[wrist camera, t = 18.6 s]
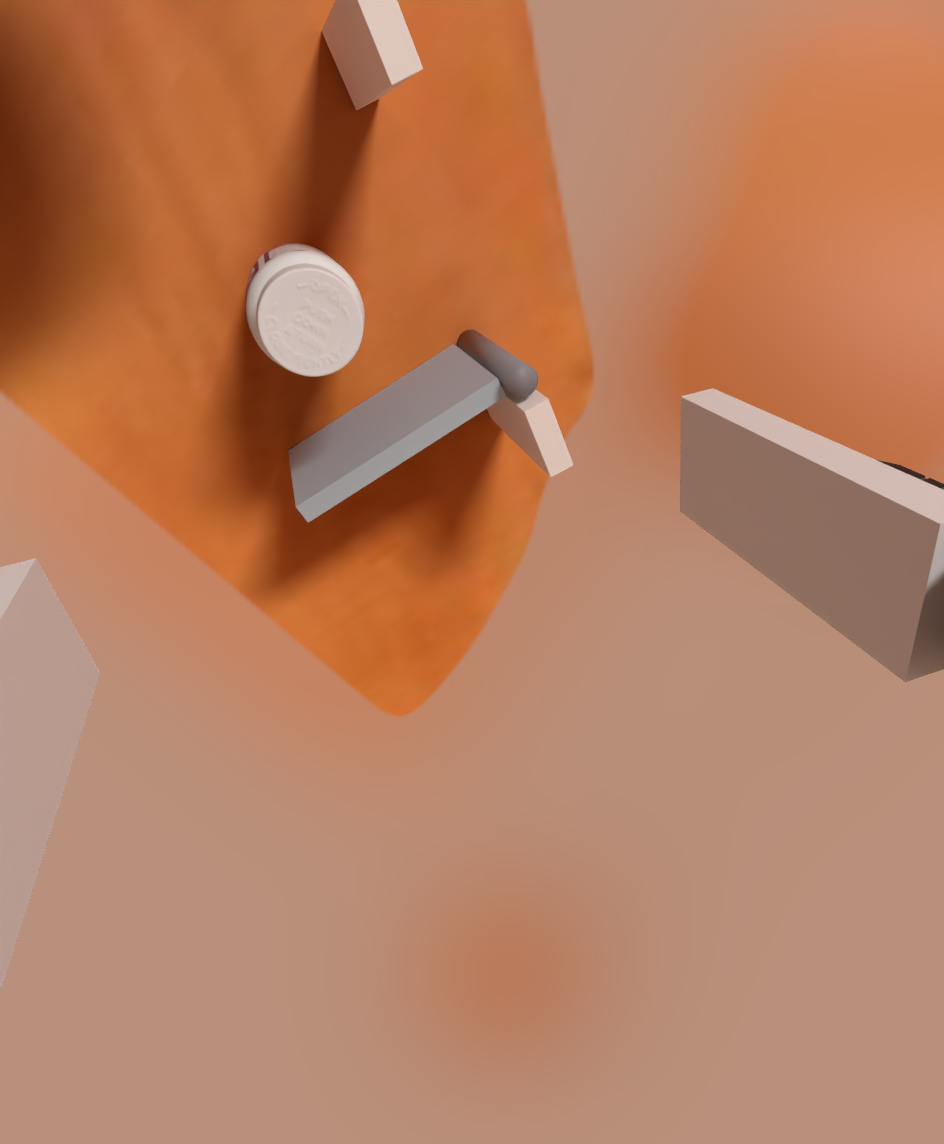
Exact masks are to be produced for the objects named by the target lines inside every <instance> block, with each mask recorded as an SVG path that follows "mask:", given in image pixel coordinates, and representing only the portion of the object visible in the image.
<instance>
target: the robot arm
mask: <svg viewBox="0 0 944 1144" xmlns="http://www.w3.org/2000/svg"><path fill="white" fill-rule="evenodd" d="M680 476H681V480H680V485H681V486H680V487H681V488H680V489H681V490H680V503H681V504H680V505H681V506H680V511H681V512H682V513H683V514H685V515H686V516H687V517H689V518H690V519H691V520H693V521H694V522H695V523H696V524H698V525H699V526H700V527H702V528H703V529H704V530H706V531H707V532H708V533H710V534H711V535H712V536H714V537H715V538H716V539H718V540H719V541H720V542H721V543H723V544H724V545H726V546H727V547H728V548H729V549H731V550H732V551H733V552H735V553H736V554H737V555H739V556H740V557H741V558H743V559H744V560H745V561H747V562H748V563H749V564H750V565H752V566H753V567H754V568H756V569H757V570H758V571H760V572H761V573H763V574H764V575H765V576H766V577H768V578H769V579H770V580H772V581H773V582H774V583H776V584H777V585H778V586H779V587H781V588H782V589H784V590H785V591H786V592H787V593H789V594H790V595H791V596H793V597H794V598H795V599H797V600H798V601H799V602H801V603H802V604H803V605H804V606H806V607H807V608H808V609H810V610H811V611H812V612H814V613H815V614H816V615H818V616H819V617H820V618H822V619H823V620H824V621H826V622H827V623H828V624H829V625H831V626H832V627H833V628H835V629H836V630H837V631H839V632H840V633H841V634H843V635H844V636H846V637H847V638H848V639H849V640H851V641H852V642H853V643H855V644H856V645H857V646H858V647H860V648H861V649H863V650H864V651H865V652H866V653H868V654H869V655H871V656H872V657H873V658H874V659H876V660H877V661H878V662H880V663H881V664H882V665H883V666H885V667H886V668H888V669H889V670H890V671H891V672H893V673H894V674H895V675H897V676H898V677H899V678H901V679H902V680H903V681H905V682H907V681H910V680H913V679H916V678H919V677H921V676H924V675H927V674H930V673H933V672H936V671H939V670H942V669H944V484H942V483H940V482H938V481H935V480H933V479H931V478H929V479H926V478H925V476H924V475H922V474H919V473H917V472H914V471H912V470H910V469H907V468H905V467H903V466H901V465H897V464H892V463H887V462H883V461H879V460H875V459H872V458H870V457H868V456H865V455H863V454H861V453H859V452H856V451H854V450H852V449H850V448H847V447H845V446H843V445H841V444H838V443H836V442H834V441H831V440H829V439H827V438H825V437H822V436H820V435H818V434H815V433H813V432H811V431H809V430H806V429H804V428H802V427H800V426H797V425H795V424H792V423H790V422H788V421H786V420H784V419H781V418H779V417H777V416H774V415H772V414H770V413H768V412H765V411H763V410H761V409H759V408H756V407H754V406H752V405H749V404H747V403H745V402H743V401H740V400H738V399H736V398H733V397H731V396H729V395H726V394H724V393H722V392H720V391H718V390H715V389H709V390H705V391H701V392H698V393H693V394H689V395H685V396H682V397H681V475H680ZM99 675H100V672H99V670H98V668H97V666H96V665H95V663H94V661H93V659H92V658H91V656H90V654H89V652H88V650H87V649H86V647H85V645H84V643H83V641H82V640H81V638H80V636H79V634H78V632H77V631H76V629H75V627H74V625H73V623H72V622H71V620H70V618H69V616H68V615H67V613H66V611H65V609H64V607H63V606H62V604H61V602H60V600H59V599H58V597H57V595H56V593H55V591H54V590H53V588H52V586H51V584H50V582H49V581H48V579H47V577H46V575H45V573H44V572H43V570H42V568H41V566H40V564H39V563H38V561H37V559H36V558H35V559H31V560H28V561H23V562H20V563H15V564H11V565H8V566H3V567H0V989H1V988H2V986H3V983H4V980H5V976H6V974H7V970H8V967H9V964H10V961H11V958H12V954H13V951H14V948H15V945H16V941H17V938H18V935H19V932H20V929H21V925H22V922H23V919H24V916H25V913H26V909H27V906H28V903H29V900H30V897H31V893H32V890H33V887H34V884H35V880H36V877H37V874H38V871H39V867H40V865H41V861H42V858H43V855H44V852H45V849H46V845H47V842H48V839H49V836H50V833H51V829H52V826H53V823H54V820H55V816H56V813H57V810H58V807H59V804H60V800H61V797H62V794H63V791H64V788H65V784H66V781H67V778H68V775H69V772H70V768H71V765H72V762H73V759H74V756H75V752H76V749H77V745H78V743H79V740H80V736H81V733H82V730H83V726H84V723H85V720H86V717H87V714H88V711H89V707H90V704H91V701H92V698H93V695H94V691H95V688H96V685H97V682H98V678H99Z"/></svg>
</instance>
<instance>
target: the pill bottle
mask: <svg viewBox="0 0 944 1144" xmlns="http://www.w3.org/2000/svg"><path fill="white" fill-rule="evenodd" d="M246 316H247V321H248V325H249V328H250V331H251V333H252V335H253V337H254V339H255V341H256V342H257V344H258V345H259V347H260V348H261V349H262V351H263V352H264V353H265V354H266V355H267V356H268V357H269V358H270V359H272V360H273V361H274V362H276V363H277V364H279V365H280V366H282V367H284V368H285V369H287V370H289V371H291V372H293V373H296V374H299V375H302V376H308V377H319V376H325V375H329V374H332V373H334V372H336V371H338V370H340V369H342V368H343V367H344V366H346V365H347V364H348V363H349V362H350V361H351V360H352V358H353V357H354V356H355V354H356V353H357V351H358V349H359V346H360V344H361V341H362V336H363V329H364V320H365V315H364V306H363V302H362V298H361V295H360V292H359V290H358V288H357V286H356V284H355V282H354V281H353V279H352V277H351V276H350V275H349V274H348V273H347V272H346V270H345V269H344V268H343V267H341V266H340V265H339V264H338V263H336V262H335V261H334V260H333V259H332V258H331V257H330V256H328V255H327V254H326V253H324V252H323V251H321V250H319V249H317V248H315V247H313V246H311V245H308V244H303V243H284V244H280V245H277V246H275V247H273V248H271V249H269V250H267V251H266V252H265V253H264V254H263V255H262V256H261V257H260V258H259V259H258V260H257V261H256V263H255V264H254V266H253V268H252V270H251V272H250V275H249V278H248V283H247V294H246Z"/></svg>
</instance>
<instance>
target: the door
mask: <svg viewBox="0 0 944 1144" xmlns="http://www.w3.org/2000/svg"><path fill="white" fill-rule="evenodd" d="M457 346H458V347H457ZM457 346H456V345H455V344H452V345H451V346H449V347H448V348H446V349H445V350H443V351H442V352H440V353H438V354H437V355H435V356H434V357H432V358H431V359H429V360H428V361H426V362H424V363H423V364H421V365H420V366H418V367H417V368H415V369H414V370H412V371H410V372H409V373H407V374H406V375H404V376H403V377H401V378H400V379H398V380H397V381H395V382H393V383H392V384H390V385H389V386H387V387H386V388H384V389H383V390H381V391H379V392H378V393H376V394H375V395H373V396H372V397H370V398H369V399H367V400H365V401H364V402H362V403H361V404H359V405H358V406H356V407H355V408H353V409H352V410H350V411H348V412H347V413H345V414H344V415H342V416H341V417H339V418H338V419H336V420H334V421H333V422H331V423H330V424H328V425H327V426H325V427H324V428H322V429H320V430H319V431H317V432H316V433H314V434H313V435H311V436H310V437H308V438H307V439H305V440H303V441H302V442H300V443H299V444H297V445H296V446H294V447H293V448H291V449H289V450H288V454H289V462H290V469H291V476H292V484H293V491H294V498H295V506H296V508H297V509H298V511H299V512H300V513H301V514H302V516H303V517H304V518H305V519H306V521H307V522H308V523H309V522H310V521H312V520H313V519H315V518H316V517H318V516H320V515H321V514H323V513H324V512H326V511H327V510H329V509H331V508H332V507H334V506H335V505H337V504H338V503H340V502H341V501H343V500H345V499H346V498H348V497H349V496H351V495H352V494H354V493H356V492H357V491H359V490H360V489H362V488H363V487H365V486H366V485H368V484H370V483H371V482H373V481H374V480H376V479H377V478H379V477H381V476H382V475H384V474H385V473H387V472H388V471H390V470H391V469H393V468H395V467H396V466H398V465H399V464H401V463H402V462H404V461H406V460H407V459H409V458H410V457H412V456H413V455H415V454H416V453H418V452H420V451H421V450H423V449H424V448H426V447H427V446H429V445H431V444H432V443H434V442H435V441H437V440H438V439H440V438H441V437H443V436H445V435H446V434H448V433H449V432H451V431H452V430H454V429H455V428H457V427H459V426H460V425H462V424H463V423H465V422H466V421H468V420H470V419H471V418H473V417H474V416H476V415H477V414H479V413H480V412H482V411H484V410H485V409H487V408H488V407H490V406H491V405H493V404H495V403H496V402H498V401H499V400H501V399H502V398H504V397H505V396H506V394H505V392H504V390H503V388H505V389H506V390H507V391H508V392H510V393H511V394H512V395H514V396H515V397H518V398H524V397H527V396H529V395H530V394H532V393H533V392H534V390H535V389H536V387H537V384H538V376H537V373H536V371H535V370H534V369H533V368H532V367H531V366H529V365H528V364H526V363H525V362H523V361H521V360H520V359H518V358H517V357H515V356H514V355H512V354H511V353H509V352H508V351H506V350H504V349H503V348H501V347H500V346H498V345H497V344H495V343H494V342H492V341H491V340H489V339H487V338H486V337H484V336H483V335H481V334H480V333H478V332H477V331H475V330H467V331H464V332H463V333H462V334H461V335H460V336H459V338H458V342H457ZM502 387H503V388H502Z"/></svg>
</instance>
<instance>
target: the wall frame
mask: <svg viewBox="0 0 944 1144" xmlns="http://www.w3.org/2000/svg"><path fill="white" fill-rule="evenodd" d="M322 34H323V36H324V38H325V40H326V43H327V45H328V47H329V50H330V52H331V54H332V56H333V59H334V61H335V63H336V66H337V68H338V70H339V72H340V75H341V77H342V79H343V82H344V84H345V86H346V88H347V91H348V93H349V95H350V98H351V100H352V102H353V104H354V107H355V109H356V111H357V110H359V109H361V108H363V107H364V106H366V105H368V104H370V103H372V102H374V101H376V100H378V99H380V98H381V97H383V96H384V95H385V94H387V93H388V92H390V91H391V90H393V89H394V88H396V87H397V86H399V85H400V84H402V83H403V82H404V81H406V80H407V79H409V78H410V77H412V76H413V75H415V74H416V73H418V72H419V71H421V70H422V69H423V67H422V65H421V62H420V60H419V57H418V54H417V52H416V49H415V46H414V44H413V41H412V38H411V36H410V33H409V31H408V28H407V25H406V23H405V20H404V17H403V15H402V12H401V10H400V7H399V4H398V2H397V0H335V2H334V5H333V7H332V9H331V11H330V14H329V16H328V18H327V20H326V22H325V25H324V27H323V29H322ZM502 388H503V387H502ZM503 390H504V392H505V394H506V396H505V397H504V398H502V399H501V400H499V401H498V402H496V403H495V404H493V405H491V406H490V407H488V408H487V410H488V413H489V415H490V417H491V419H492V420H493V421H494V422H495V423H496V424H497V425H498V426H499V427H500V428H501V429H502V430H503V431H504V432H505V433H506V434H507V435H508V436H509V437H510V438H511V439H512V440H513V441H514V442H515V443H516V444H517V445H518V446H519V447H520V448H521V449H523V450H524V451H525V452H526V453H527V454H528V455H529V456H530V457H531V458H532V459H533V460H534V461H535V462H536V463H537V464H538V465H539V466H540V467H541V468H542V469H543V470H544V471H545V472H546V473H547V474H548V475H549V476H550V477H552V476H554V475H556V474H558V473H560V472H562V471H563V470H565V469H567V468H569V467H571V466H573V462H572V460H571V457H570V455H569V452H568V449H567V447H566V444H565V441H564V439H563V436H562V434H561V431H560V428H559V426H558V423H557V420H556V418H555V415H554V412H553V410H552V407H551V405H550V402H549V399H548V398H546V397H545V396H544V395H542V394H541V393H539V392H538V391H537V390H534V392H533V393H532V394H530V395H529V396H527V397H524V398H518V397H515V396H514V395H512V394H511V393H510V392H508V391H507V390H506V389H505V388H503Z"/></svg>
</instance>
